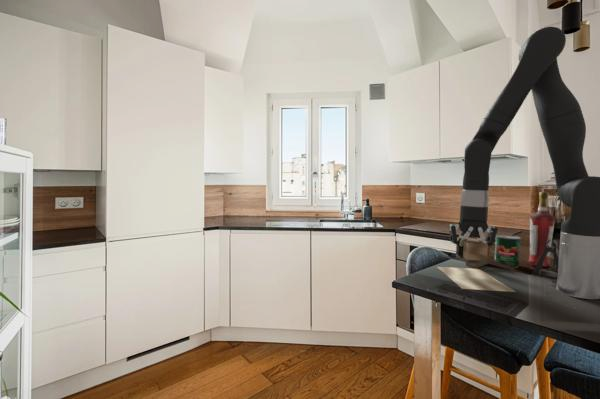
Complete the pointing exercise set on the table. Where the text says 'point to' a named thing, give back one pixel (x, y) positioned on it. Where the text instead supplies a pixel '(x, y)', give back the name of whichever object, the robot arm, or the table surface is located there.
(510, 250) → the canned tomato
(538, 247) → the liquor
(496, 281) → the birch board
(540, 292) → the table surface
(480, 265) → the wooden block
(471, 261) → the walnut block
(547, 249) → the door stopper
